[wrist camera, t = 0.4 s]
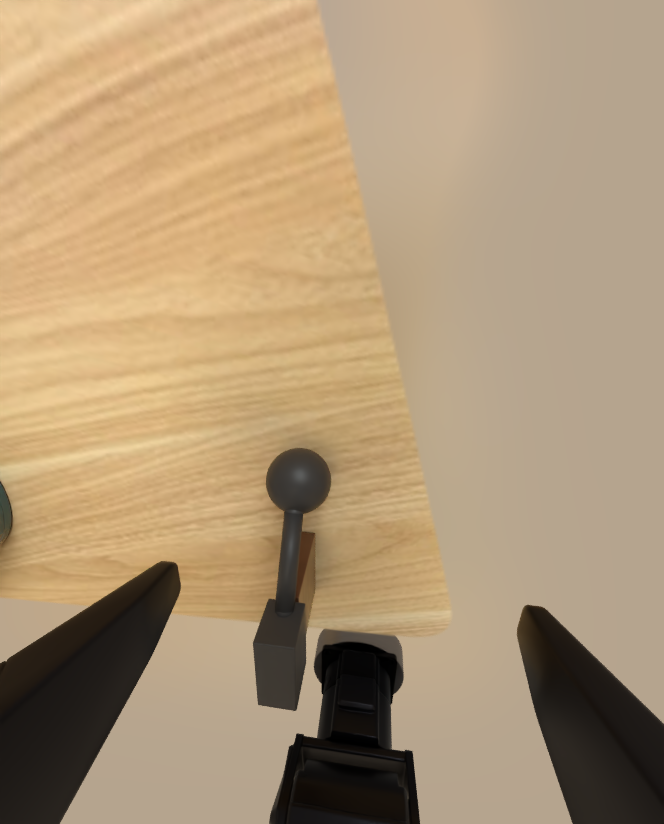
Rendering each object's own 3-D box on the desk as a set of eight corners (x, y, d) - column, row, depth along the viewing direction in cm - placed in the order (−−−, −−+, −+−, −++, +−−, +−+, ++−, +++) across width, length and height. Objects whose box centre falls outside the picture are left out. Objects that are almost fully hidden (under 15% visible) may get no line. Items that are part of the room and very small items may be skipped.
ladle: (275, 435, 21) (222, 511, 14) (335, 440, 20) (312, 520, 13) (281, 585, 25) (242, 703, 18) (331, 591, 24) (312, 714, 17)
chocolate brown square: (315, 589, 25) (300, 661, 20) (298, 587, 25) (280, 658, 20) (315, 533, 23) (298, 598, 18) (297, 531, 23) (276, 595, 19)
